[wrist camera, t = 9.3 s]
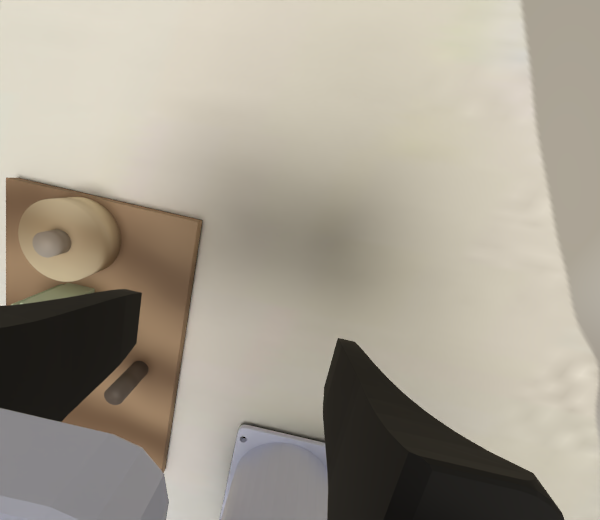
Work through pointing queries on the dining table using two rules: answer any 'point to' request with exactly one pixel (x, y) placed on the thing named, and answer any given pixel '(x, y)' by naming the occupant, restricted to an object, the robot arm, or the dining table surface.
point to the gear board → (110, 276)
